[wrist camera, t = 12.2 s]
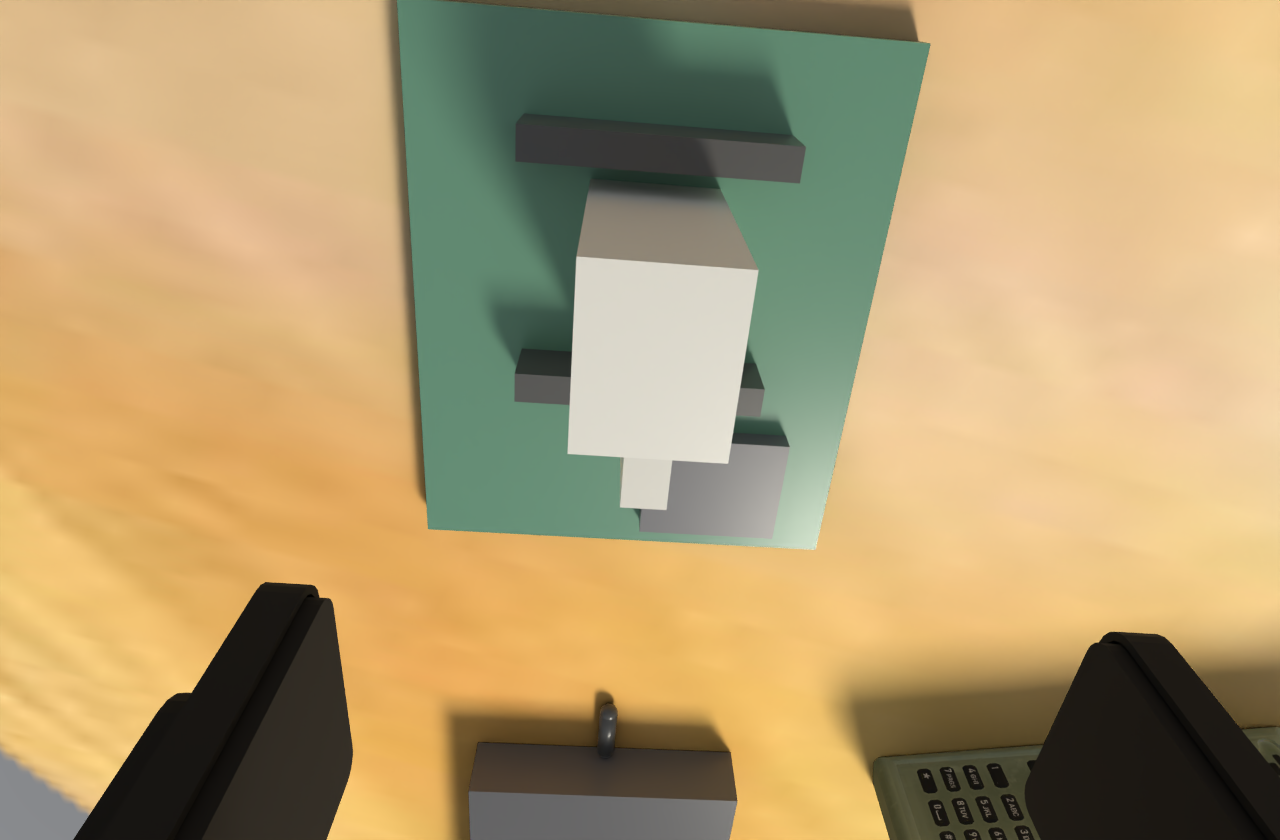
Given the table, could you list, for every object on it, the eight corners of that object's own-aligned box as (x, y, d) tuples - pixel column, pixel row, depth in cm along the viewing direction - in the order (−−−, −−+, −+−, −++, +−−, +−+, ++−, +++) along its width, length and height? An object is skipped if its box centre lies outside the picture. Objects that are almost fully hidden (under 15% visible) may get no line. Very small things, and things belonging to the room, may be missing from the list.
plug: (720, 189, 25) (758, 270, 18) (696, 379, 28) (720, 513, 21) (590, 178, 24) (575, 256, 17) (580, 371, 27) (565, 504, 20)
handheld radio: (873, 745, 39) (1404, 703, 38) (869, 787, 40) (1378, 748, 39) (916, 885, 33) (1544, 839, 32) (910, 927, 35) (1507, 885, 34)
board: (919, 41, 24) (956, 48, 21) (809, 534, 32) (826, 583, 30) (405, -4, 23) (376, -3, 20) (433, 513, 31) (416, 562, 29)
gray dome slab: (739, 705, 37) (748, 760, 34) (702, 900, 44) (706, 959, 41) (476, 693, 36) (464, 749, 33) (482, 894, 43) (472, 952, 41)
